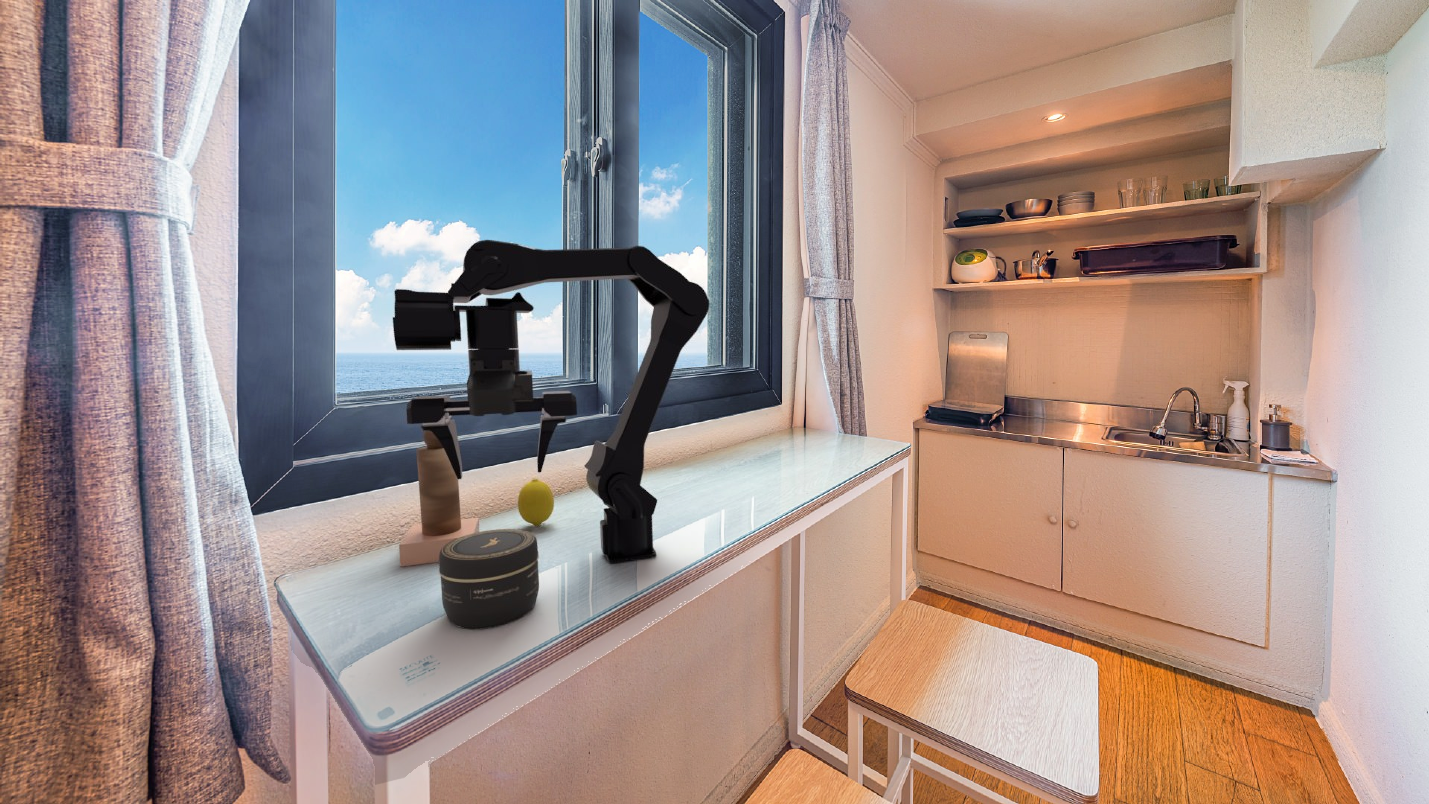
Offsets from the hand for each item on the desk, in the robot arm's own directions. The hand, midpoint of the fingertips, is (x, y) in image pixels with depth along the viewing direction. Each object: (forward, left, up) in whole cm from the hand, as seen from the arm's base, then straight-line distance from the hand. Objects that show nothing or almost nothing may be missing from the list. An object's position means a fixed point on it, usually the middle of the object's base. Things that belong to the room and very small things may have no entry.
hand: (500, 475), depth 66 cm
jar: (+1, +9, -13) cm, 16 cm away
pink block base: (+9, -13, -13) cm, 20 cm away
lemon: (-4, -19, -13) cm, 23 cm away
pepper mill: (+9, -13, -10) cm, 19 cm away
